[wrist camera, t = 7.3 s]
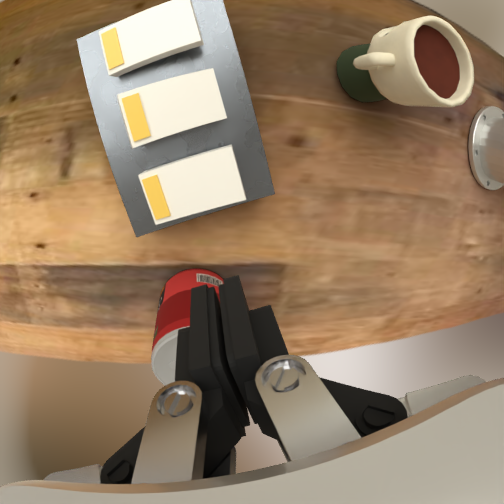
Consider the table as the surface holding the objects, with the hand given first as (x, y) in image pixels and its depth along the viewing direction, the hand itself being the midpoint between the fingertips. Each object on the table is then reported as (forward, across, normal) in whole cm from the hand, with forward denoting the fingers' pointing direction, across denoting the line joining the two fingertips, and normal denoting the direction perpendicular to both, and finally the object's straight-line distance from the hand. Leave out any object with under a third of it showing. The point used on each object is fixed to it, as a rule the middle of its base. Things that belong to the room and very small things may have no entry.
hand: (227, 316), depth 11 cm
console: (+20, +1, -8) cm, 22 cm away
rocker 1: (+14, +1, -14) cm, 20 cm away
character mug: (+21, -18, -9) cm, 29 cm away
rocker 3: (+14, +1, -2) cm, 14 cm away
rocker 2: (+14, +1, -8) cm, 16 cm away
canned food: (+20, +5, +11) cm, 24 cm away
